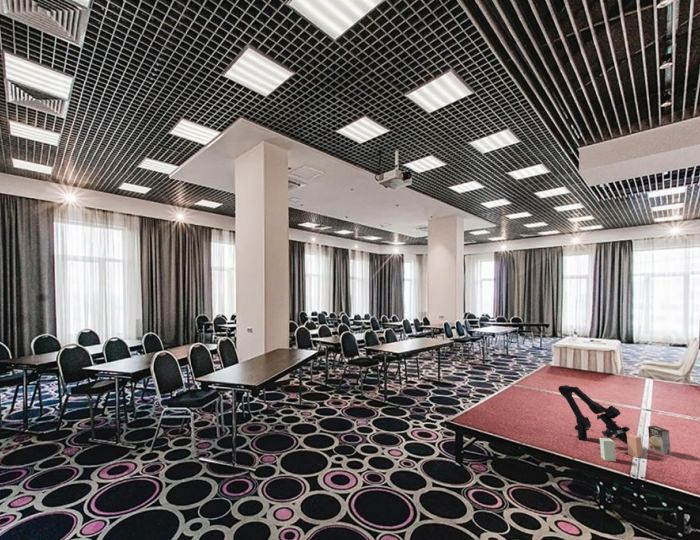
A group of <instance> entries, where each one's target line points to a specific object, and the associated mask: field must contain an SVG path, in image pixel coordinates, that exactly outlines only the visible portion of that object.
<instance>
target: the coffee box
mask: <svg viewBox="0 0 700 540" xmlns="http://www.w3.org/2000/svg"><path fill="white" fill-rule="evenodd" d="M647 429H648V430H647V431H648V441H649V444H648V445H649V449H650V450H652V451H655V452H657V453H659V454H662V455H668V456H672V453H671V441H670V438H671V437H670V430H669V429H665V428H663V427H660V426H658V425H650V426H647Z"/></svg>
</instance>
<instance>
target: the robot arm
mask: <svg viewBox="0 0 700 540" xmlns="http://www.w3.org/2000/svg"><path fill="white" fill-rule="evenodd" d="M558 392H559V393H560V395H561V396H562V397H564V398H565V399H566V401H567V403H568V404H569V407H570V408H571V411H572V412H573V414H574V416H575V419H576V425H575V426H574V429H575V431H577V435H576V438H577V439H578V440H581V441H590V440H589V438H588V432H587V431H589V430H590V428H592V424H591V423H592V422H591V421H590V420H589V418H588V417H587V416H584V415H583V413H582V411H581V409H580V407H579V405H578V404H577V402H576V400H575V399H574V397H573V393H574V394H575V395H576V396H577V397H578V398H579V399H580V400H582V401H583V402H584V403H585V404H586V406H587V407H588V408H589V410H590V411H591V412H592V413H593V414H595V415H596V420H601V421H602V422H603V424H605V428H606V429H605V430H602V431H601V434H602V435H603V436H604V438H610V439H611V438H616V439H618V440H620V441H621V442H623V443H624V444H626V445H627V446H628V444H627V435H628V434H627V433H628V432H629V431H630V430H631V429H630V428H629V426H622V427H621V426H619V425H618V424H617V421H616V420H614V419H615V418H618V417H619V416H620V415H621V414H622V413H621V411H620V410H619V409H618V408H616V407H615V406H613V405H609V406H608V407H604V406H603V405H602V404H600V403H598V402H597V401H594V400H593V399H592V398H590V396H588V395H587V394H586V393H584V391H582V390H581V389H580V388H579V387H578V386H569V385H567V384H565V385H559V387H558Z"/></svg>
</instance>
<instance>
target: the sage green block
mask: <svg viewBox="0 0 700 540" xmlns="http://www.w3.org/2000/svg"><path fill="white" fill-rule="evenodd" d="M599 447H600V458H601V459H602V460H604V461H606V462H617V458H616V456H617V455H616V445H615V441H614V440H613V439H611V438H608V437H599Z"/></svg>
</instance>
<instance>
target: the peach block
mask: <svg viewBox="0 0 700 540" xmlns="http://www.w3.org/2000/svg"><path fill="white" fill-rule="evenodd" d="M626 435H627V444H628V445H627V444H626V445H627V453H628V455H629V456H632V457H634V458H640V457H643V446H642V436H640V435H636V434H633V433H630V434H626Z"/></svg>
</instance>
